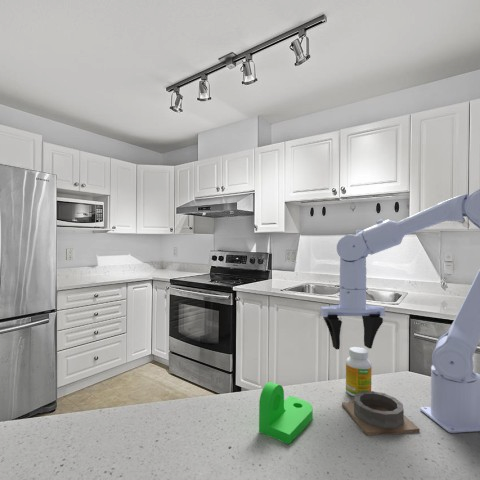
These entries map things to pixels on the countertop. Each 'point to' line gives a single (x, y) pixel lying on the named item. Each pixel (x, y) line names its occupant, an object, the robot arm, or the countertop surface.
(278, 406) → the mechanical part
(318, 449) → the countertop surface
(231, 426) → the countertop surface
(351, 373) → the supplement bottle
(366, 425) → the collar holder
